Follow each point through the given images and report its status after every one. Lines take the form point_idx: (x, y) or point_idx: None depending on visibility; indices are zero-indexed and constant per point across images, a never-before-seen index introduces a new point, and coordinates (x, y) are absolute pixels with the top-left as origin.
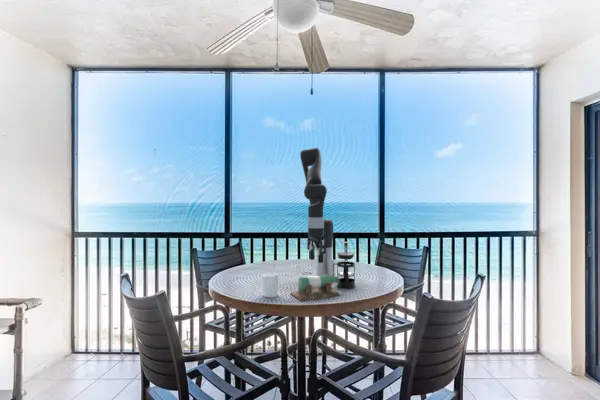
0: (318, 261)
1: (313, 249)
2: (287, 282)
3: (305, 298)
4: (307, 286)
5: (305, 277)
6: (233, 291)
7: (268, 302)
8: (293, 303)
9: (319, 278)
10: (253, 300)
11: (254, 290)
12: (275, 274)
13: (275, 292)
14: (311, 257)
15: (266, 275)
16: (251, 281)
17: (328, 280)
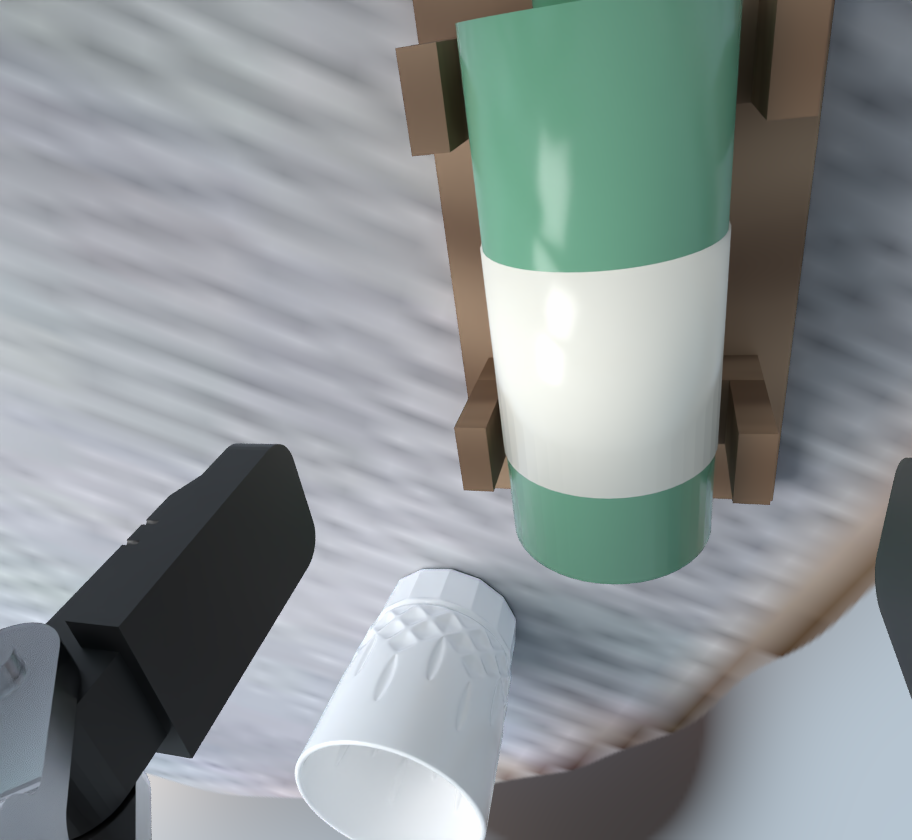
0: (903, 623)
1: (13, 746)
2: (21, 327)
3: (778, 441)
4: (770, 488)
5: (627, 525)
6: (277, 744)
7: (644, 694)
8: (798, 563)
9: (694, 271)
10: (540, 741)
11: (275, 648)
12: (337, 730)
13: (500, 633)
14: (279, 573)
15: (323, 773)
16: (11, 576)
17: (737, 36)
